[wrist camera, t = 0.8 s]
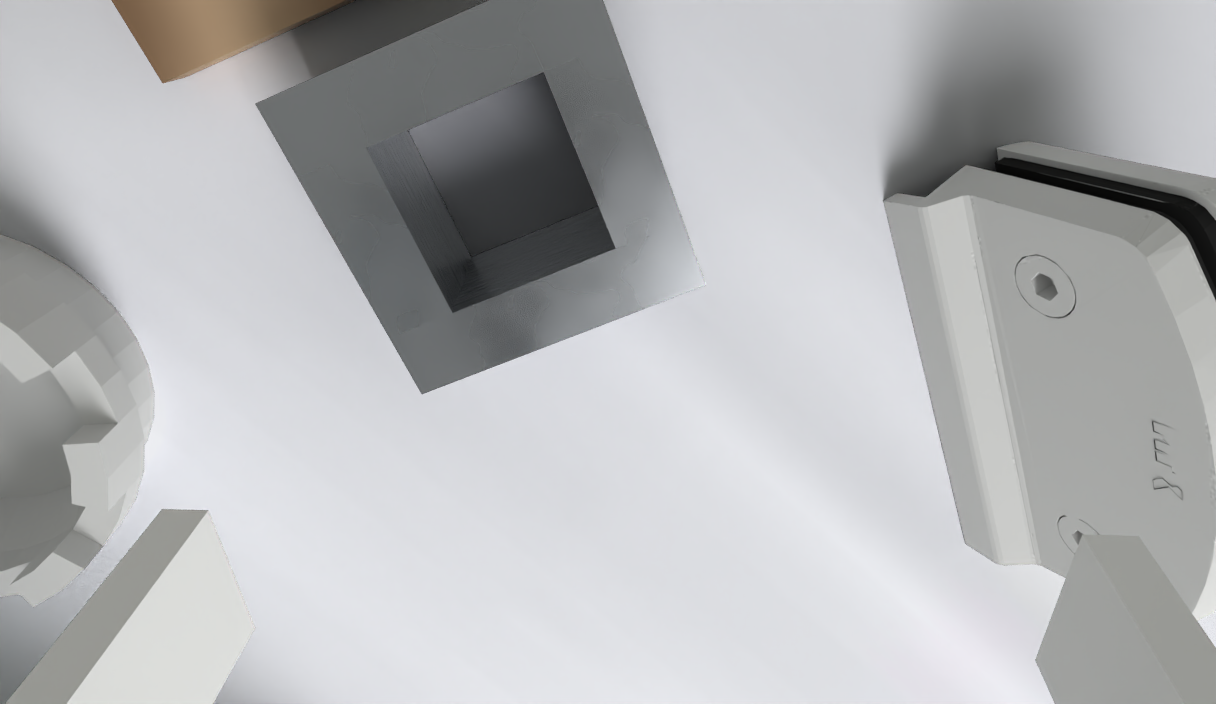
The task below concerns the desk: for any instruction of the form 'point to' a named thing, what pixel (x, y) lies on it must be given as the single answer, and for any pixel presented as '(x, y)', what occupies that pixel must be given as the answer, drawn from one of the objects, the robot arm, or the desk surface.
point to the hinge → (1071, 354)
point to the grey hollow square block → (419, 221)
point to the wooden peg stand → (211, 28)
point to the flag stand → (63, 422)
